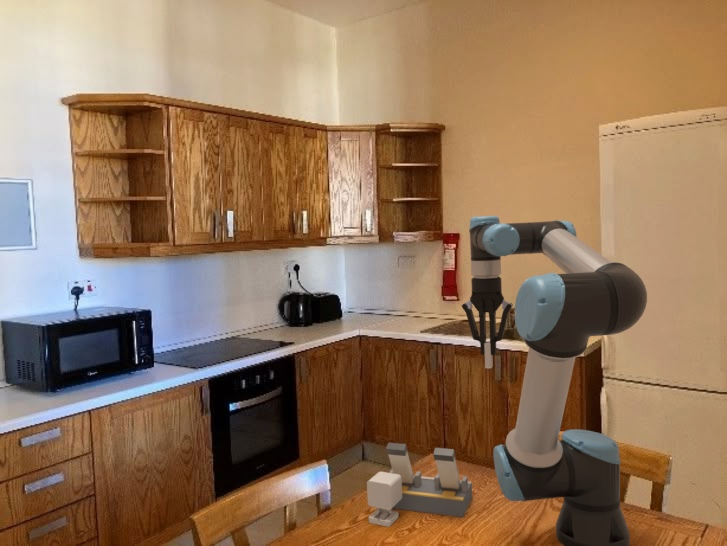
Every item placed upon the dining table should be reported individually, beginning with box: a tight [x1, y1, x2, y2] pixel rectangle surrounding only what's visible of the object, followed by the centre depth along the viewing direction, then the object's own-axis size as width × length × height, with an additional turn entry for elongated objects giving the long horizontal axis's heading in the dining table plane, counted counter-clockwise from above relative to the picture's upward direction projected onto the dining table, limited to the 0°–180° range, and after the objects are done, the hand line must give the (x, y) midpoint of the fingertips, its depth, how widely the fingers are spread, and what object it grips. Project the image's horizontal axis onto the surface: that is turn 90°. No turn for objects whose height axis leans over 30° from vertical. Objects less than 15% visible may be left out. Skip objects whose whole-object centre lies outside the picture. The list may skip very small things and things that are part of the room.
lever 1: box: [385, 442, 414, 485], centre depth 157 cm, size 5×2×13 cm, turn 69°
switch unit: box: [388, 468, 473, 518], centre depth 158 cm, size 20×11×7 cm, turn 69°
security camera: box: [366, 471, 402, 528], centre depth 150 cm, size 6×7×10 cm
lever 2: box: [432, 447, 462, 490], centre depth 152 cm, size 5×2×13 cm
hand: (488, 367), depth 162 cm, fingers closed
